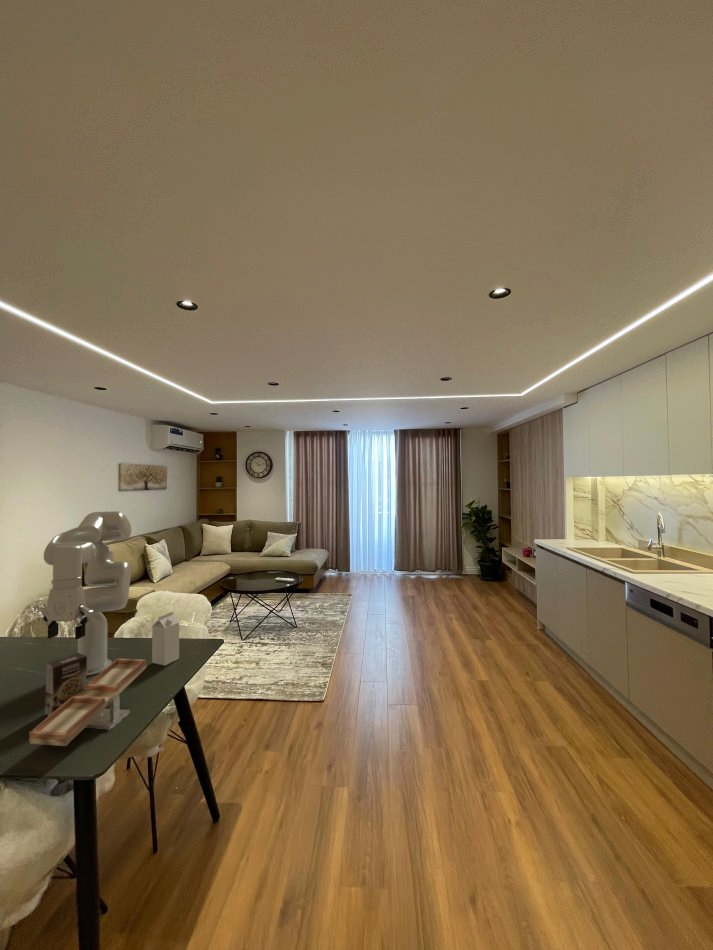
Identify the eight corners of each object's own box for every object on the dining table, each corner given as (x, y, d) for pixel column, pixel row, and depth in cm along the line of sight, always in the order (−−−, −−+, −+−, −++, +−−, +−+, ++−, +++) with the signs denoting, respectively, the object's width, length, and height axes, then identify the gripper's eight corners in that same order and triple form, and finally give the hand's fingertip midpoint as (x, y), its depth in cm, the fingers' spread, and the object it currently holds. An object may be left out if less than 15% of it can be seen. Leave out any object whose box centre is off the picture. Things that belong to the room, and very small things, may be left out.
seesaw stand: (60, 726, 111) (60, 702, 112) (83, 711, 119) (83, 688, 120) (109, 730, 110) (109, 705, 110) (129, 713, 117) (129, 690, 118)
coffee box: (53, 720, 114) (53, 667, 115) (44, 714, 118) (45, 662, 118) (86, 705, 122) (87, 655, 123) (78, 700, 126) (78, 651, 126)
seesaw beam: (29, 746, 100) (27, 733, 99) (118, 668, 131) (117, 658, 131) (67, 749, 98) (64, 736, 98) (147, 669, 130) (146, 659, 129)
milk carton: (151, 663, 152) (152, 616, 152) (166, 655, 158) (166, 610, 159) (164, 666, 149) (165, 618, 149) (179, 658, 155) (179, 612, 156)
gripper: (32, 586, 118) (31, 641, 118) (82, 586, 116) (81, 642, 116) (54, 580, 126) (53, 632, 125) (101, 581, 124) (100, 633, 123)
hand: (66, 637), depth 120 cm, fingers open, 9 cm apart
